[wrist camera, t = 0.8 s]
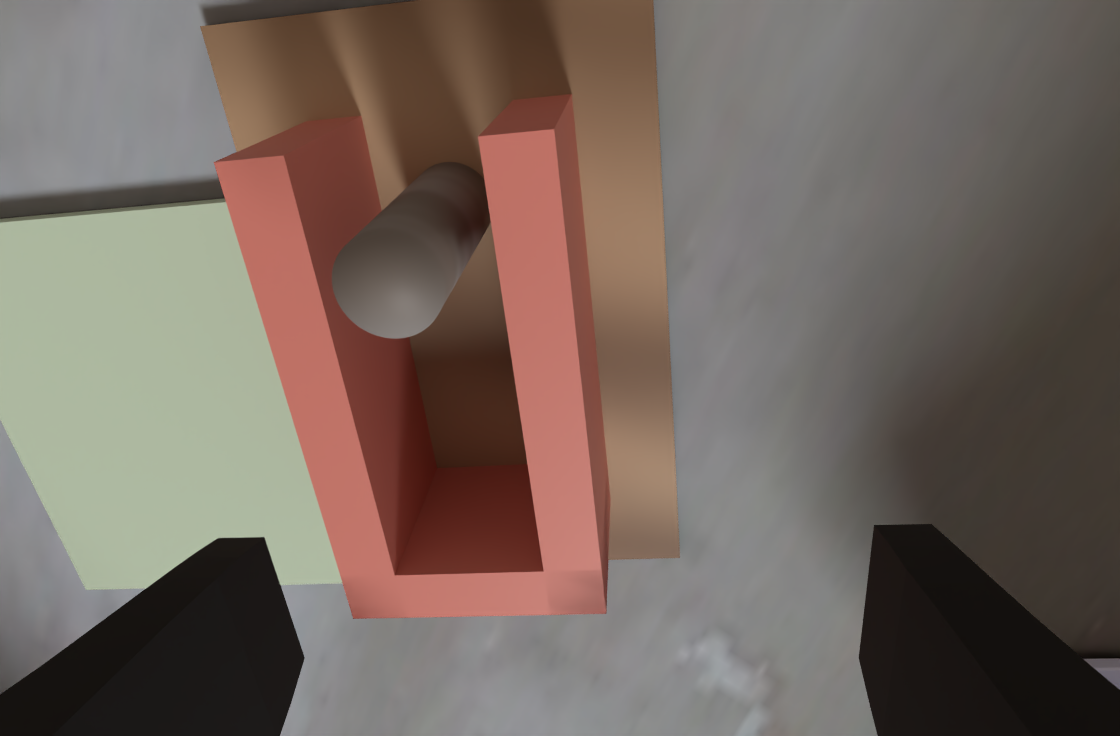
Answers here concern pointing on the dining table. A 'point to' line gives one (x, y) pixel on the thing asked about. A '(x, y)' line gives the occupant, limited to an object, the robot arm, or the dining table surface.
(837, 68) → the dining table surface
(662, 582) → the dining table surface
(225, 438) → the mat
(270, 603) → the robot arm
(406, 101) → the stand
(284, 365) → the c link
